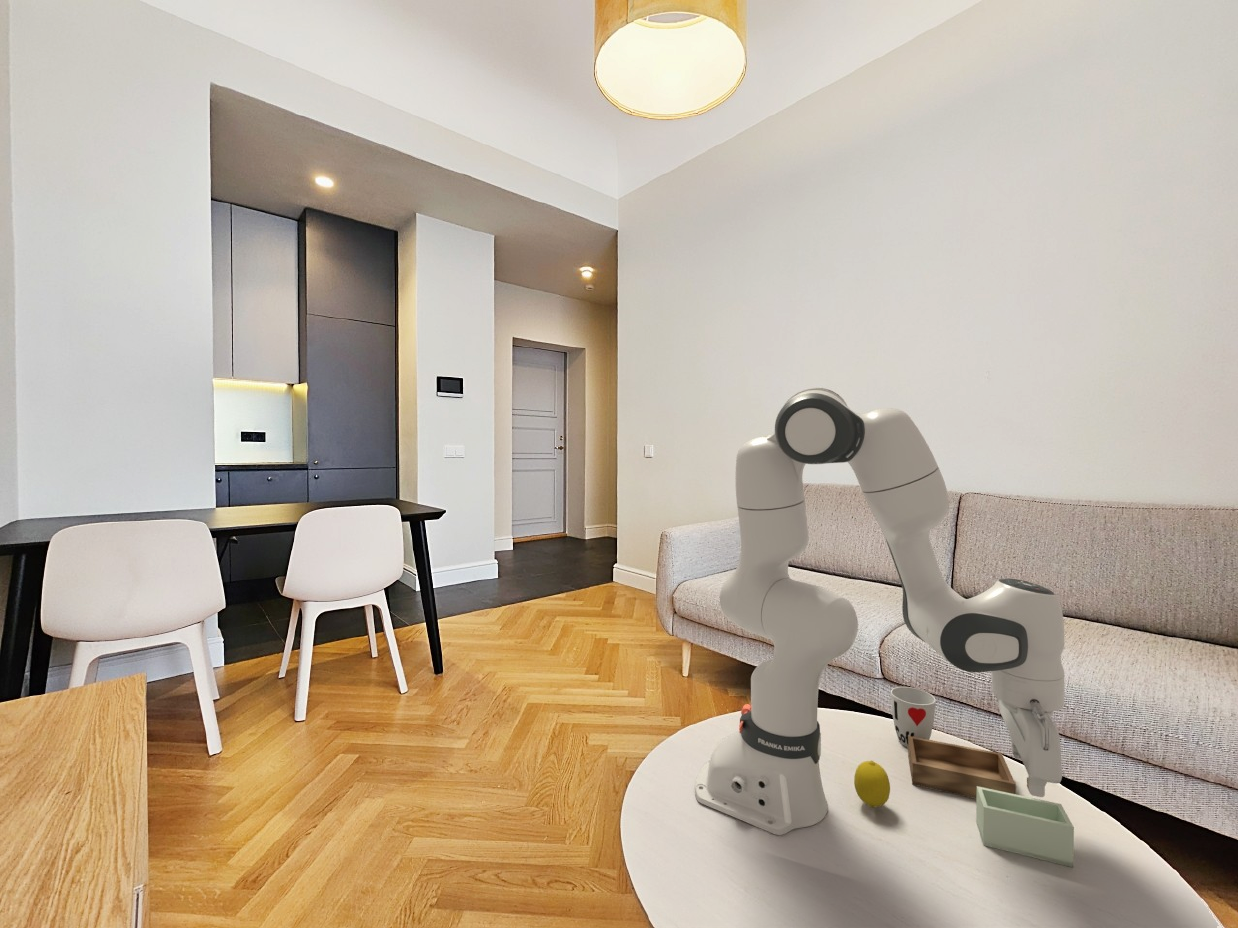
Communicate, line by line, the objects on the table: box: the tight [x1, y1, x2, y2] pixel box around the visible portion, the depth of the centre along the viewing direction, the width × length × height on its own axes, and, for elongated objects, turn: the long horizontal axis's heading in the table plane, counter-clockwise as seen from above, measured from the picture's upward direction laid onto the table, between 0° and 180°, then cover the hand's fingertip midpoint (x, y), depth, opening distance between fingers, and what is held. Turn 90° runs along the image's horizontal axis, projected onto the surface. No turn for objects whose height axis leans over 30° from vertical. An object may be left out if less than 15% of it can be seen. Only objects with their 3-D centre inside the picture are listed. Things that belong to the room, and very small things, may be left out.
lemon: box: [853, 760, 891, 809], centre depth 91 cm, size 6×6×8 cm
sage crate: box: [975, 786, 1075, 868], centre depth 82 cm, size 11×6×6 cm, turn 65°
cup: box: [890, 686, 937, 748], centre depth 110 cm, size 8×8×10 cm
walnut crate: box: [907, 736, 1017, 800], centre depth 98 cm, size 15×10×4 cm, turn 65°
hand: (1027, 774), depth 82 cm, fingers open, 8 cm apart
